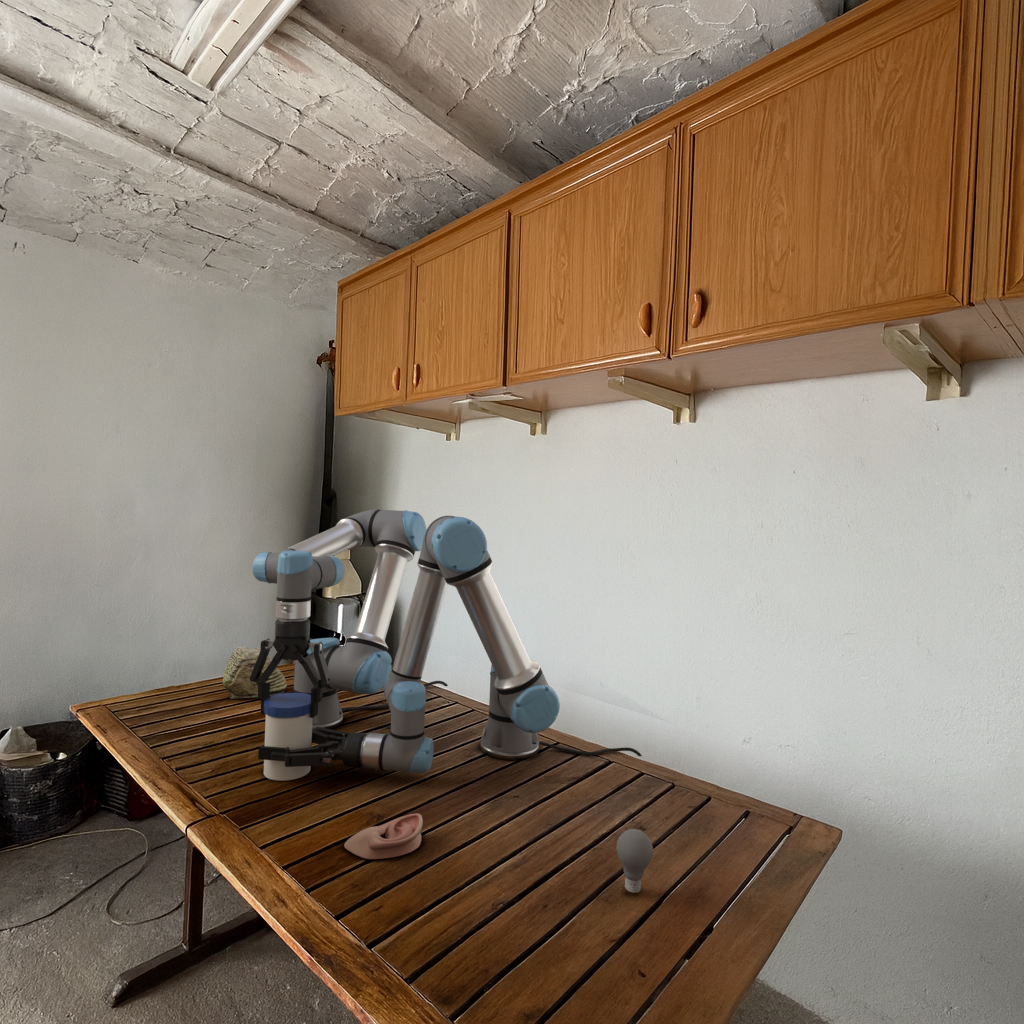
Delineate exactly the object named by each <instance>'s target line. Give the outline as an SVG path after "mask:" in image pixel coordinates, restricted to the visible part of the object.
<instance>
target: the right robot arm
mask: <svg viewBox="0 0 1024 1024" xmlns="http://www.w3.org/2000/svg"><path fill="white" fill-rule="evenodd" d="M419 552H420V553H419V557H418V559H417V567H418V569H419V572H418V575H417V579H416V583H415V586H414V590H413V593H412V598H411V600H410V604H409V607H408V610H407V615H406V618H405V621H404V625H403V629H402V632H401V635H400V640H399V642H398V646H397V650H396V654H395V657H394V660H393V664H392V667H391V672H390V675H389V678H388V679H387V680H386V682H385V685H384V686H383V693H384V698H385V699H386V701H387V704H388V705H389V707H388V708H389V711H390V734H386V733H374V732H369V733H366V732H359V731H357V732H356V731H351V732H350V731H339V730H336V729H326V728H321V727H315V730H314V729H312V744H316V745H317V746H311V747H310V748H302V749H295V750H289V747H287V748H281V747H269V746H265V745H259V746H258V750H257V752H258V753H257V759H258V760H261V761H262V760H263V761H264V760H274V761H285V767H299V766H311V767H316V766H318V767H319V766H320V767H321V766H322V767H332V765H333V761H342V762H343V766H345V767H346V768H353V769H354V768H355V769H360V768H363V769H369V770H374V771H375V772H377V771H379V770H382V771H394V772H404V773H408V774H411V773H414V774H417V773H418V774H420V773H427V772H428V771H429V770H430V769H431V767H432V764H433V759H434V752H435V745H434V740H433V738H432V737H427V736H425V717H426V703H427V698H426V687H424V685H423V684H424V683H421V680H422V677H423V674H424V669H425V665H426V662H427V660H428V656H429V652H430V648H431V645H432V641H433V638H434V634H435V631H436V628H437V624H438V620H439V616H440V613H441V610H442V606H443V603H444V599H445V595H446V592H447V588H448V585H449V586H452V587H454V588H456V591H457V593H458V595H459V597H460V600H461V601H462V604H463V606H464V608H465V609H466V612H467V614H468V617H469V618H470V621H471V623H472V625H473V627H474V630H475V631H476V634H477V636H478V638H479V640H480V642H481V644H482V646H483V648H484V651H485V653H486V655H487V657H488V659H489V661H490V663H491V665H490V672H489V675H490V677H489V699H488V700H489V701H488V703H489V704H488V717H487V718H488V719H487V722H486V724H485V726H484V727H483V729H482V734H481V738H480V745H479V747H480V750H481V751H482V752H483V753H484V754H486V755H488V756H490V757H493V758H496V759H500V760H509V761H510V760H513V761H514V760H523V759H528V758H531V757H534V756H536V755H537V754H538V753H539V751H540V746H543V747H546V748H547V747H548V748H551V749H554V750H558V751H561V752H567V753H571V754H575V755H580V756H596V755H600V754H604V753H611V752H612V753H614V752H631V753H634V754H635V755H637V756H638V757H643V755H642V753H640V752H639V751H638V749H635V748H633V747H627V746H626V747H613V748H611V747H610V748H603V749H602V748H601V749H599V750H594V751H585V750H584V751H583V750H577V749H576V750H575V749H571V748H568V747H562V746H559V745H555V744H552V743H547V742H544V741H540V739H539V735H538V733H541V732H543V731H546V730H547V729H548V728H550V727H551V726H552V725H553V724H554V723H555V722H556V720H557V717H558V715H559V713H560V707H561V702H560V699H559V696H558V693H557V692H556V691H555V689H554V688H553V687H551V686H550V685H549V683H548V680H547V679H546V677H545V675H544V672H543V670H542V668H541V666H540V664H539V663H538V662H537V661H535V660H532V659H531V658H530V657H529V654H528V653H527V651H526V648H525V645H524V644H523V642H522V639H521V637H520V635H519V633H518V630H517V628H516V626H515V624H514V621H513V619H512V617H511V615H510V613H509V611H508V608H507V606H506V604H505V602H504V600H503V598H502V596H501V594H500V590H499V589H498V587H497V584H496V583H495V580H494V578H493V576H492V573H491V568H492V567H493V560H492V558H491V555H490V553H489V551H488V541H487V537H486V535H485V533H484V531H483V529H482V528H481V527H480V526H479V525H478V524H477V523H476V522H474V521H473V520H471V519H470V518H467V517H464V516H455V515H442V516H439V517H437V518H435V519H434V520H432V521H431V522H430V524H429V525H428V527H426V532H425V535H424V539H423V543H422V548H421V551H419Z"/></svg>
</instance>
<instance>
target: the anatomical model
mask: <svg viewBox="0 0 1024 1024" xmlns="http://www.w3.org/2000/svg"><path fill="white" fill-rule="evenodd" d="M423 820H424V819H423V815H421V814H420V813H409V814H405V815H403V816H400V817H397V818H395V819H392V820H390V821H388V822H386V823H383V824H381V825H378V826H377V825H376V826H370V827H367V828H364V829H362V830H360V831H358V832H356V833H355V834H353V835H352V836H351V837H350V838H348V839H347V840H346V841H345V842H344V845H343V847H344V849H346V850H347V851H348V852H350V853H351V854H353V855H355V856H358V857H360V858H362V859H366V860H381V859H389V858H390V859H391V858H396V857H400V856H404V855H406V854H409V853H412V852H414V851H415V850H417V849H418V848H419V847H420V845H421V842H422V829H423V826H424V825H423V823H424V821H423Z"/></svg>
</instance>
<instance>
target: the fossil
mask: <svg viewBox="0 0 1024 1024" xmlns="http://www.w3.org/2000/svg"><path fill="white" fill-rule="evenodd" d="M260 651H261V647H258V648H251V647H247V646H246V647H245V646H238V647H237V648H236V649H235V650H233V651H232V653H231V656H230V657H229V659H228V660H227V663H226V666H225V668H224V671H223V675H222V676H223V677H222V685H223V687H224V688H225V690H226V691H228V693H229V698H230V699H250V698H258V684H257V683H256V682H254V681H253V682H251V681H250V676H251V674H252V671H253V669H254V666H255V663H256V661H257V658H258V656H259V653H260ZM272 660H273V658H271V657H270V656H269V655H268V657H267V659H266V662H265V665H264V667H263V670H262V672H261V675H262V674H263V672H264V671H265V670H266V668H267V667H268V665H269V664H270V663H271V661H272ZM261 675H260V676H261ZM267 682H269V683H270V697H271V696H274V695H278V694H283V693H285V691H286V689H287V687H288V686H287V680H286V678H285V676H284V674H283V673H282V672H281V669H279V668H278V667H276V668H275V670H274V671H273V673H272V674H271V676H270V677H269V678H268V681H266V683H267Z"/></svg>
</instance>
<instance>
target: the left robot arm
mask: <svg viewBox="0 0 1024 1024" xmlns="http://www.w3.org/2000/svg"><path fill="white" fill-rule="evenodd" d="M426 530H427V525H426V522H425V519H424V517H423V515H421V513H419V512H418V511H411V510H406V509H405V510H394V509H391V510H390V509H378V508H375V509H374V508H373V509H368V510H363V511H361V512H358V513H355V514H352V515H349V516H347V517H345V518H342V519H340V520H339V521H338V522H337V523H336V524H335V526H333V527H331V528H328V529H327V530H325V531H322V532H320V533H317V534H315V535H313V536H311V537H309V538H307V539H304V540H302V541H300V542H297V543H296V544H293V545H291V546H289V547H287V548H284V549H282V550H280V551H279V550H278V551H277V552H272V551H268V552H261V553H259V554H257V555H256V556H255V558H254V559H253V562H252V574H253V576H254V578H255V580H257V581H259V582H263V583H267V584H276V597H275V598H276V602H275V618H277V619H276V620H275V623H274V626H275V627H274V639H270V638H266V639H263V640H262V641H261V642H260V648H261V651H260V653H259V656H258V658H257V661H256V663H255V666H254V669H253V671H252V674H251V676H250V681H251V682H253V681H254V682H256V683H257V684H258V697H257V699H260V715H266V714H265V713H264V701H265V700H266V699H267V698H269V697H271V696H270V683H269V682H267V683H266V681H268V678H269V677H270V676H271V674H272V673H273V671H274V670H275V668H278V666H279V665H280V663H281V662H282V660H284V661H288V660H291V661H294V670H293V671H294V672H293V693H305V694H309V695H311V707H310V718H312V729H314V730H315V727H321V728H326V729H331V730H334V729H335V728H337V727H339V726H340V725H342V723H343V722H344V714H343V712H348V711H349V712H350V711H360V710H362V711H363V710H379V709H386V708H389V705H388V703H385V704H384V703H383V704H379V705H378V704H377V705H360V706H359V705H358V706H346V707H345V706H344V707H342V706H341V702H340V699H339V695H338V691H344V692H349V693H355V694H357V695H374V694H376V693H378V692H379V691H380V690H382V689H383V688H384V686H385V682H386V680H387V679H388V678H389V677H390V674H391V671H392V667H393V664H392V662H393V660H392V657H391V654H389V652H388V651H389V647H388V644H387V643H386V638H387V634H388V631H389V627H390V623H391V619H392V616H393V612H394V610H395V606H396V603H397V598H398V595H399V593H400V592H399V591H400V588H401V585H402V581H403V577H404V574H405V570H406V567H407V563H409V562H412V561H413V560H414V557H415V554H416V552H421V548H422V543H423V539H424V535H425V532H426ZM359 548H374V550H375V552H376V554H377V557H376V561H375V564H374V568H373V571H372V574H371V577H370V581H369V584H368V588H367V591H366V594H365V597H364V600H363V604H362V606H361V610H360V613H359V615H358V620H357V623H356V627H355V628H354V629H355V630H354V632H353V634H350V635H349V636H347V637H346V640H345V643H344V646H343V645H340V644H341V641H340V639H339V638H337V637H321V638H313V639H310V633H311V620H310V619H309V618H310V617H311V611H312V610H311V606H312V605H311V604H312V603H311V602H312V591H313V590H319V589H324V588H331V587H333V586H336V585H339V584H340V583H341V582H342V581H343V579H344V577H345V573H346V572H345V570H346V569H345V565H344V562H342V559H340V558H338V557H337V555H340V554H342V553H344V552H345V551H354V550H357V549H359ZM272 648H274V649H275V651H276V653H275V654H274V656H273V657H272V661H271V663H270V664H269V665H268V667H267V668H266V670H265V671H264V672H263V674H262V675H261V672H262V670H263V667H264V665H265V662H266V659H267V657H268V656H269V654H270V651H271V649H272ZM260 675H261V676H260ZM422 684H423V685H424V687H425V688H426V687H430V686H432V685H438V684H439V685H443V686H444V687H448V686H449V684H447V682H445V681H444V680H443V681H442V680H433V681H430V682H426V683H422Z"/></svg>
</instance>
